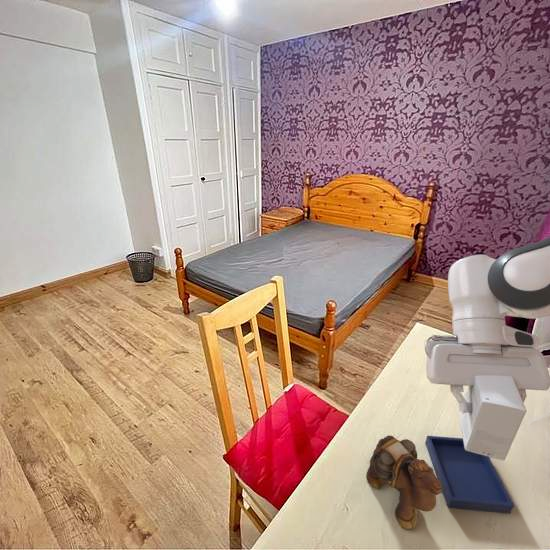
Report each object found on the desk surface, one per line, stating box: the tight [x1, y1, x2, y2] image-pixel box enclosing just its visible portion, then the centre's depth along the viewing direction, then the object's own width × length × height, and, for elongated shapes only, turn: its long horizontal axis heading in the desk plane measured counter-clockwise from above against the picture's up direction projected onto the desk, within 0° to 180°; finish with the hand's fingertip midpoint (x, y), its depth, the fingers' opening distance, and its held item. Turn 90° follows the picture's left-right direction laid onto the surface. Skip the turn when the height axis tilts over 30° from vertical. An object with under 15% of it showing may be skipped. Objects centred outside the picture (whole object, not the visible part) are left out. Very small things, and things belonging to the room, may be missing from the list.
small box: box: [458, 375, 527, 461], centre depth 56 cm, size 8×6×13 cm
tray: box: [424, 435, 515, 514], centre depth 63 cm, size 11×13×3 cm
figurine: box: [365, 435, 442, 530], centre depth 58 cm, size 9×15×15 cm, turn 26°
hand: (490, 414), depth 55 cm, fingers closed on small box, 7 cm apart
